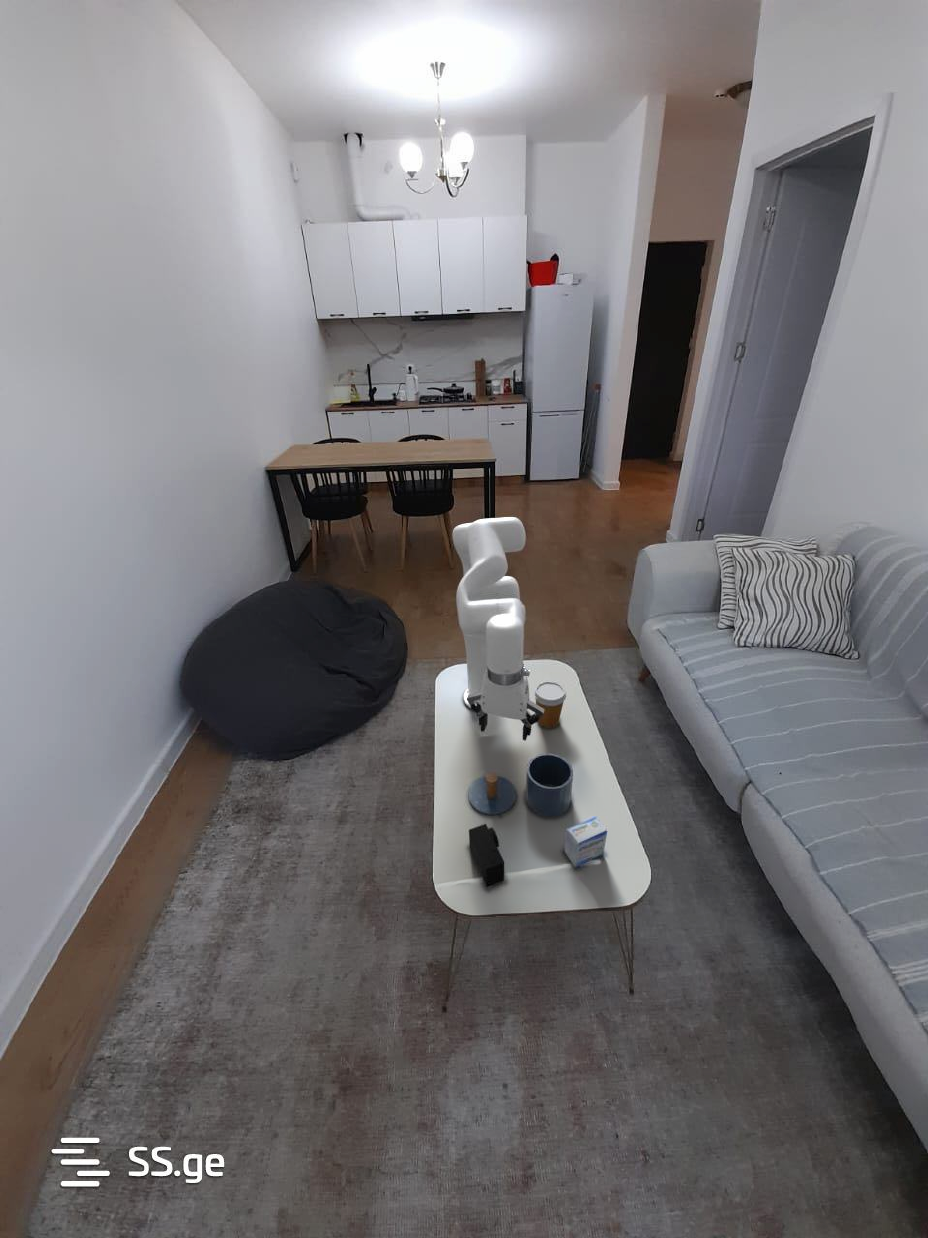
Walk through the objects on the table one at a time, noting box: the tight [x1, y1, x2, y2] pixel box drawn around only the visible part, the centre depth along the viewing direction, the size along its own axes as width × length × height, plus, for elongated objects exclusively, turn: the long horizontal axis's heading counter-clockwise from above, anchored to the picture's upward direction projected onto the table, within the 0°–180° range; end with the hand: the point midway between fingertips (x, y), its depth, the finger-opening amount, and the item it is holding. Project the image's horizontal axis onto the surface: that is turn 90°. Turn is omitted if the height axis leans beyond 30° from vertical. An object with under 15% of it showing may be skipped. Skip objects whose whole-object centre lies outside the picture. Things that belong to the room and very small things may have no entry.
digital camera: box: [468, 823, 505, 889], centre depth 111 cm, size 10×5×7 cm, turn 21°
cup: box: [525, 752, 574, 817], centre depth 125 cm, size 11×11×10 cm
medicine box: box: [564, 816, 608, 868], centre depth 112 cm, size 8×4×9 cm, turn 114°
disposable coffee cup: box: [533, 680, 567, 729], centre depth 149 cm, size 10×10×12 cm
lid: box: [468, 773, 517, 816], centre depth 127 cm, size 12×12×7 cm
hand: (504, 731), depth 112 cm, fingers open, 9 cm apart
